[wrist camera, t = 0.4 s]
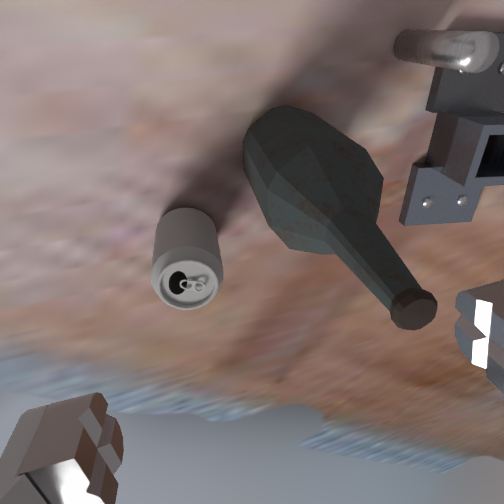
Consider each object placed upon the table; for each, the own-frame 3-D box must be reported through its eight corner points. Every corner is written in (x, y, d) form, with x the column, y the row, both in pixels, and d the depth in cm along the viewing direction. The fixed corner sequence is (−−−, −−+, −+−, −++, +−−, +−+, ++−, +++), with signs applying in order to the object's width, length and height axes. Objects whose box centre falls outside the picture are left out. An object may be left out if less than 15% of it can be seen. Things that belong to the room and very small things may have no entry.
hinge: (444, 32, 41) (496, 33, 34) (526, 33, 42) (591, 35, 36) (398, 220, 53) (431, 250, 46) (464, 216, 54) (505, 244, 47)
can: (157, 201, 45) (150, 252, 35) (219, 207, 47) (230, 257, 37) (154, 255, 49) (147, 315, 39) (212, 258, 51) (220, 317, 41)
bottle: (337, 119, 44) (554, 250, 19) (309, 196, 48) (451, 387, 23) (252, 95, 41) (371, 212, 16) (230, 180, 46) (295, 377, 20)
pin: (396, 29, 40) (470, 31, 30) (423, 29, 40) (504, 31, 30) (391, 60, 42) (459, 73, 31) (416, 60, 42) (491, 73, 32)
